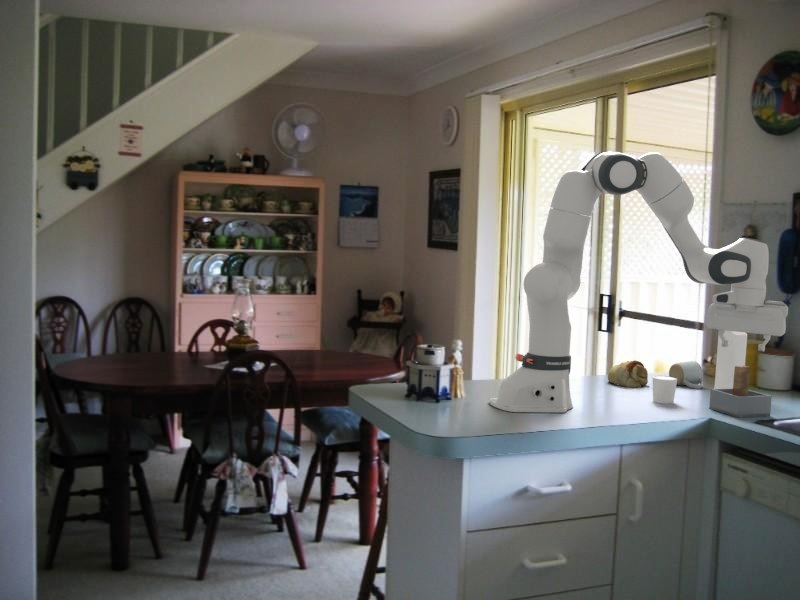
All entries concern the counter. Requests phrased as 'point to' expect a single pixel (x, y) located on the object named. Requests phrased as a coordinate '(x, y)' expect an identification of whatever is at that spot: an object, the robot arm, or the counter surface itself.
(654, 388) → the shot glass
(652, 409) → the counter surface
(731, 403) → the grey storage tray
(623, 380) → the pastry
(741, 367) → the brown wooden block
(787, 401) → the counter surface
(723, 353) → the milk
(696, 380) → the ceramic mug
